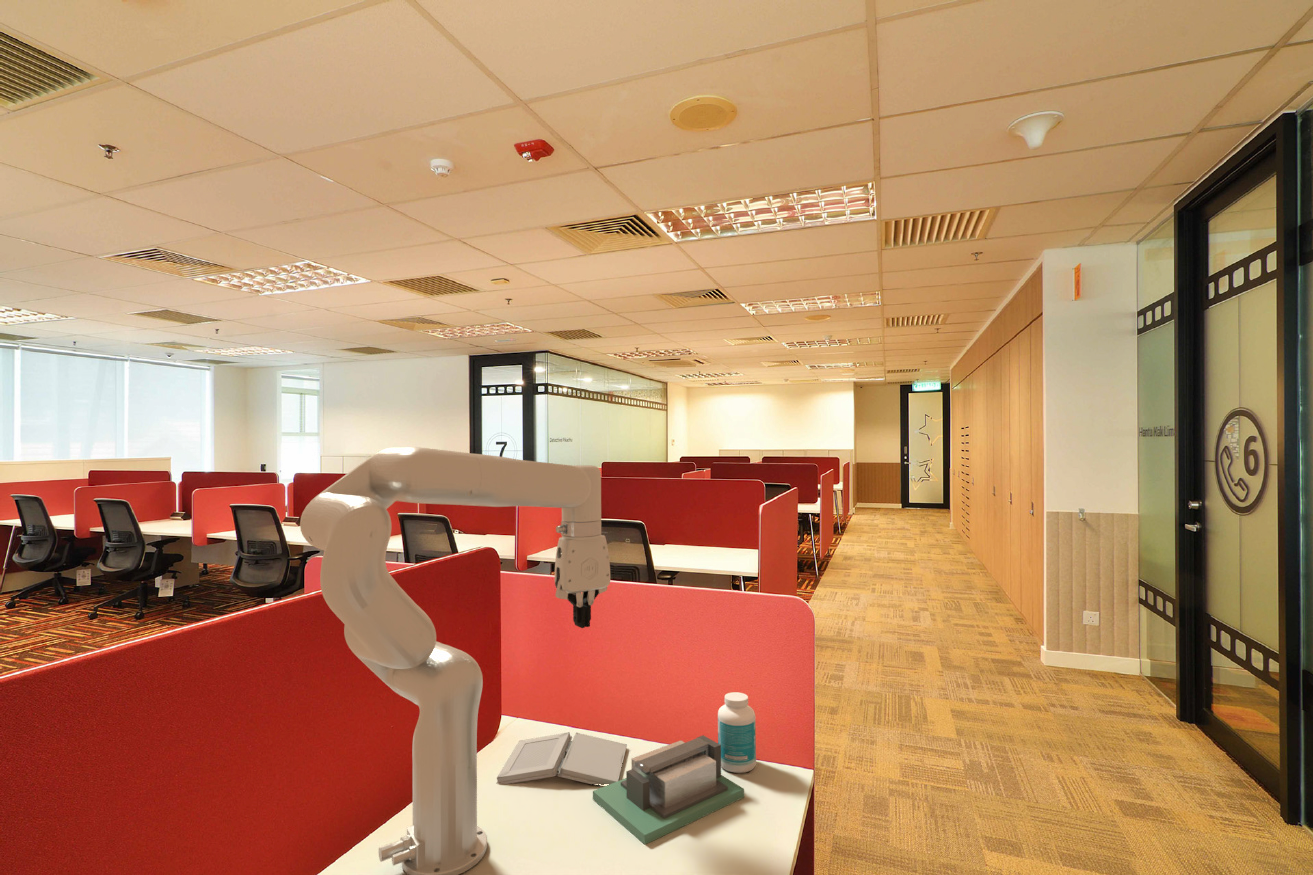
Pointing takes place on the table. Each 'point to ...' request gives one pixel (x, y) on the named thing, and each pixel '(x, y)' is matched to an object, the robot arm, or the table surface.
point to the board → (653, 821)
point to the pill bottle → (737, 734)
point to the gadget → (582, 761)
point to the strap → (672, 755)
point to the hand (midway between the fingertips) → (582, 625)
